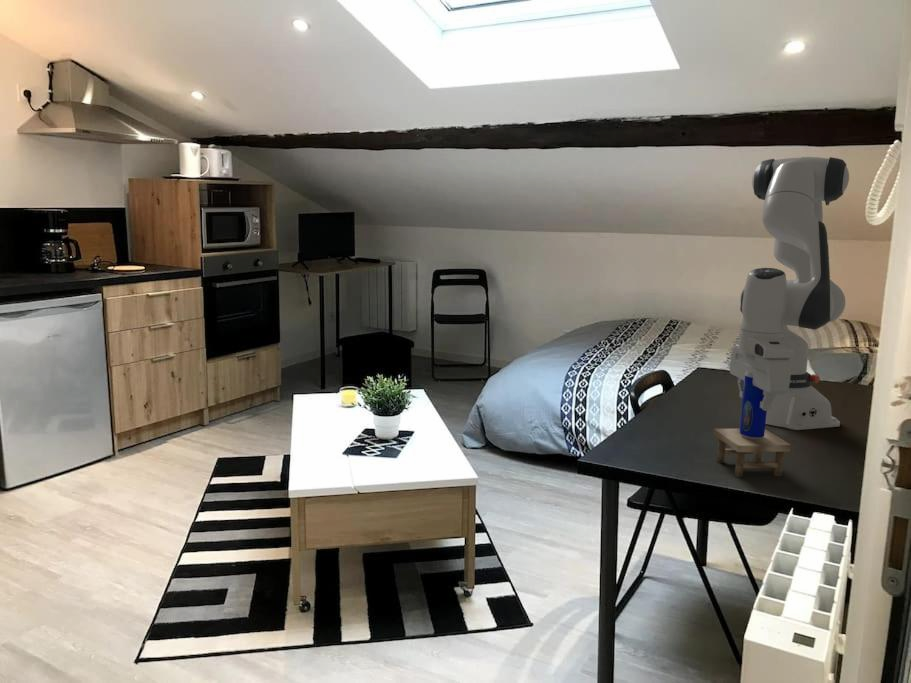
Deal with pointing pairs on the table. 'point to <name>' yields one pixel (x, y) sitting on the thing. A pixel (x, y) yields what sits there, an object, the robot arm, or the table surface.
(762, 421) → the beverage can
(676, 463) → the table surface
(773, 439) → the stool
